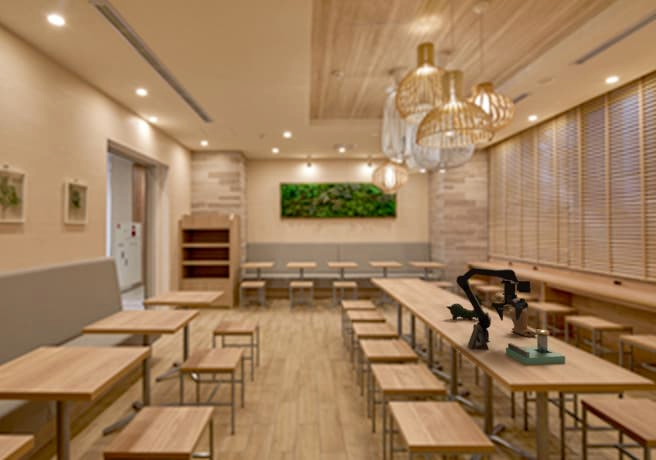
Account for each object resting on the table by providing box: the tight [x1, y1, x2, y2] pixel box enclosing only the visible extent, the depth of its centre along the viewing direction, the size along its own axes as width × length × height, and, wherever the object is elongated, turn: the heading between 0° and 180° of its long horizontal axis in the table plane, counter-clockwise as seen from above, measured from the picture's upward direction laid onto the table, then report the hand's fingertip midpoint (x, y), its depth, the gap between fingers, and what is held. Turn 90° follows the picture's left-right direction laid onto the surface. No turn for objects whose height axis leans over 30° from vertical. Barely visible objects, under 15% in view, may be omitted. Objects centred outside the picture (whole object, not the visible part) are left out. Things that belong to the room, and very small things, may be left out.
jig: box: [505, 343, 566, 365], centre depth 189 cm, size 20×16×5 cm
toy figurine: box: [445, 293, 484, 321], centre depth 270 cm, size 9×19×25 cm
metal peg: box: [535, 328, 550, 354], centre depth 189 cm, size 6×6×13 cm
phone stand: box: [467, 323, 490, 351], centre depth 205 cm, size 9×6×12 cm, turn 88°
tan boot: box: [509, 308, 537, 337], centre depth 232 cm, size 15×12×15 cm
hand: (509, 320), depth 212 cm, fingers open, 9 cm apart
